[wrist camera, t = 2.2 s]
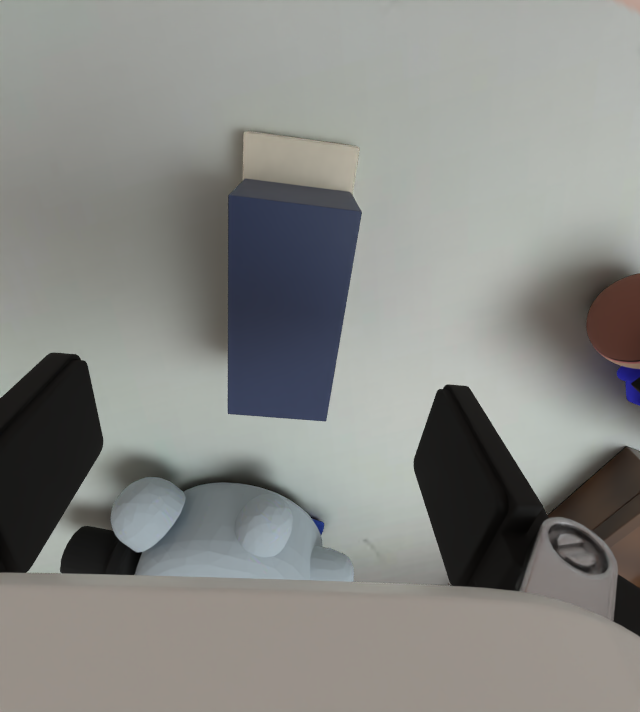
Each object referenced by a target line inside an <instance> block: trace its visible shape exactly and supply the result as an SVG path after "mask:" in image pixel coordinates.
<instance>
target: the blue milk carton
mask: <svg viewBox="0 0 640 712" xmlns="http://www.w3.org/2000/svg"><path fill="white" fill-rule="evenodd" d="M359 150H360V148H358V147H357V146H353V145H346V144H338V143H331V142H324V141H317V140H310V139H303V138H295V137H288V136H281V135H274V134H267V133H260V132H252V131H246V132H244V133H243V179H242V182H241V183H240V184H239V185H238V186H237V187H236V188H235V189H234V190H233V191H232V192H231V193H230V194H229V196H228V414H236V415H250V416H263V417H276V418H289V419H302V420H315V421H326V418H327V413H328V407H329V401H330V395H331V389H332V383H333V378H334V372H335V366H336V360H337V354H338V348H339V343H340V337H341V331H342V325H343V319H344V313H345V308H346V302H347V296H348V290H349V284H350V278H351V273H352V267H353V261H354V255H355V249H356V243H357V238H358V232H359V226H360V220H361V214H362V212H361V210H360V208H359V206H358V204H357V203H356V201H355V199H354V197H353V196H352V195H353V188H354V182H355V176H356V169H357V163H358V156H359Z"/></svg>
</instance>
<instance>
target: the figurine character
mask: <svg viewBox="0 0 640 712" xmlns="http://www.w3.org/2000/svg"><path fill="white" fill-rule="evenodd" d="M586 328H587V334H588V337H589V339H590V342H591V343H592V345H593V347H594V348H595V349H596V350H597V351H598V353H600V354H601V355H602V356H603V357H605V358H606V359H608V360H609V361H611V362H613V363H615V364H618V365H621V367H620V368H619V369H618V371H617V376H618V378H619V379H620V380H623V381H625V383H626V398H627V400H628V401H629V402H631V403H634V404H637V405H639V406H640V274H635V275H631V276H628V277H625V278H623V279H620V280H618V281H616V282H615V283H613V284H611V285H610V286H608V287H607V288H606V289H605V290H603V291H602V292H601V293H600V294H599V295H598V296H597V298H596V299H595V300H594V302H593V303H592V305H591V307H590V309H589V312H588V315H587V322H586Z"/></svg>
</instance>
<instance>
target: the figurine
mask: <svg viewBox="0 0 640 712" xmlns="http://www.w3.org/2000/svg"><path fill="white" fill-rule="evenodd" d="M110 520H111V524H112V529H113V531H111V530H105V529H100V528H95V527H90V526H84V527H81V528H80V529H79V530H78V531H77V532H76V533H75V534H74V535H73V536H72V538H71V539H70V541H69V542H68V544H67V546H66V548H65V550H64V553H63V556H62V559H61V567H60V572H61V573H66V574H106V575H134V574H135V575H147V576H184V577H218V578H252V579H284V580H315V581H344V582H354V569H353V565H352V562H351V560H350V559H349V558H348V557H347V556H346V555H345V554H343V553H340V552H338V551H336V550H333V549H329V548H325V547H322V539H321V534H322V532H323V529H324V523H323V522H321V521H318V520H315V519H311V517H310V516H309V515H308V513H306V512H305V511H304V510H303V509H302V508H301V507H299V506H298V505H297V504H295V503H294V502H292V501H291V500H290V499H288V498H286V497H284V496H282V495H280V494H278V493H275V492H272V491H269V490H267V489H264V488H261V487H257V486H252V485H247V484H240V483H225V482H223V483H209V484H204V485H199V486H196V487H193V488H190V489H188V490H186V491H184V492H183V491H182V490H180V489H179V488H178V487H177V486H175V485H174V484H173V483H172V482H170V481H168V480H165V479H162V478H157V477H146V478H143V479H140V480H137V481H135V482H133V483H131V484H130V485H129V486H127V487H126V488H125V489H124V490H123V491H122V493H121V494H120V495H119V496H118V498H117V499H116V500H115V502H114V504H113V506H112V512H111V519H110Z"/></svg>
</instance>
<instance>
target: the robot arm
mask: <svg viewBox="0 0 640 712" xmlns="http://www.w3.org/2000/svg"><path fill="white" fill-rule="evenodd" d="M102 447H103V436H102V431H101V426H100V422H99V417H98V412H97V408H96V403H95V398H94V393H93V389H92V384H91V379H90V374H89V370H88V366H87V363H86V362H85V361H82V360H81V359H80V357H79V356H78V355H76V354H65V353H50V354H48V355H47V356H46V357H45V358H44V359H43V360H41V361H40V362H39V363H38V364H37V365H36V366H35V367H34V368H33V369H32V370H31V371H30V372H28V373H27V374H26V375H25V376H24V377H23V378H22V379H21V380H20V381H19V382H18V383H17V384H16V385H14V386H13V387H12V388H11V389H10V390H9V391H8V392H7V393H6V394H5V395H4V396H3V397H1V398H0V712H640V588H639V587H637V586H636V585H634V584H633V583H631V582H630V581H628V580H626V579H625V578H623V577H622V576H620V575H619V574H618V566H617V561H616V559H615V556H614V554H613V552H612V551H611V549H610V548H609V547H608V546H607V544H606V543H605V542H604V541H603V540H602V539H601V538H600V537H599V536H598V535H597V534H595V533H594V532H593V531H592V530H590V529H589V528H587V527H585V526H584V525H582V524H580V523H578V522H576V521H573V520H571V519H567V518H563V517H551V518H549V517H548V515H547V514H546V512H545V510H544V509H543V505H542V504H541V502H540V501H539V499H538V497H537V496H536V494H535V493H534V491H533V489H532V488H531V486H530V485H529V483H528V481H527V480H526V478H525V477H524V475H523V473H522V472H521V470H520V468H519V467H518V465H517V464H516V462H515V460H514V459H513V457H512V456H511V454H510V452H509V451H508V449H507V448H506V446H505V444H504V443H503V441H502V440H501V438H500V436H499V435H498V433H497V432H496V430H495V428H494V427H493V425H492V424H491V422H490V420H489V419H488V417H487V415H486V414H485V412H484V411H483V409H482V407H481V406H480V404H479V403H478V401H477V399H476V398H475V396H474V395H473V393H472V391H471V390H470V388H469V387H467V386H459V385H445V387H444V388H443V389H439V390H438V391H437V393H436V396H435V399H434V402H433V405H432V408H431V411H430V414H429V417H428V419H427V422H426V425H425V428H424V431H423V434H422V437H421V440H420V443H419V446H418V449H417V452H416V455H415V458H414V471H415V474H416V478H417V481H418V484H419V487H420V490H421V493H422V496H423V499H424V503H425V506H426V509H427V512H428V515H429V518H430V521H431V524H432V528H433V531H434V534H435V537H436V540H437V543H438V546H439V550H440V553H441V556H442V559H443V562H444V565H445V568H446V571H447V575H448V578H449V580H450V583H451V584H452V585H453V586H443V585H424V584H400V583H372V582H344V581H315V580H284V579H252V578H218V577H184V576H147V575H106V574H66V573H26V572H27V571H28V570H29V569H30V568H31V566H32V565H33V563H34V562H35V560H36V558H37V557H38V555H39V553H40V552H41V550H42V548H43V547H44V545H45V544H46V542H47V540H48V539H49V537H50V535H51V534H52V532H53V530H54V529H55V527H56V525H57V524H58V522H59V520H60V519H61V517H62V515H63V514H64V512H65V510H66V509H67V507H68V505H69V504H70V502H71V501H72V499H73V497H74V496H75V494H76V492H77V491H78V489H79V487H80V486H81V484H82V482H83V481H84V479H85V477H86V476H87V474H88V472H89V471H90V469H91V467H92V466H93V464H94V462H95V461H96V459H97V458H98V456H99V454H100V452H101V450H102Z"/></svg>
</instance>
